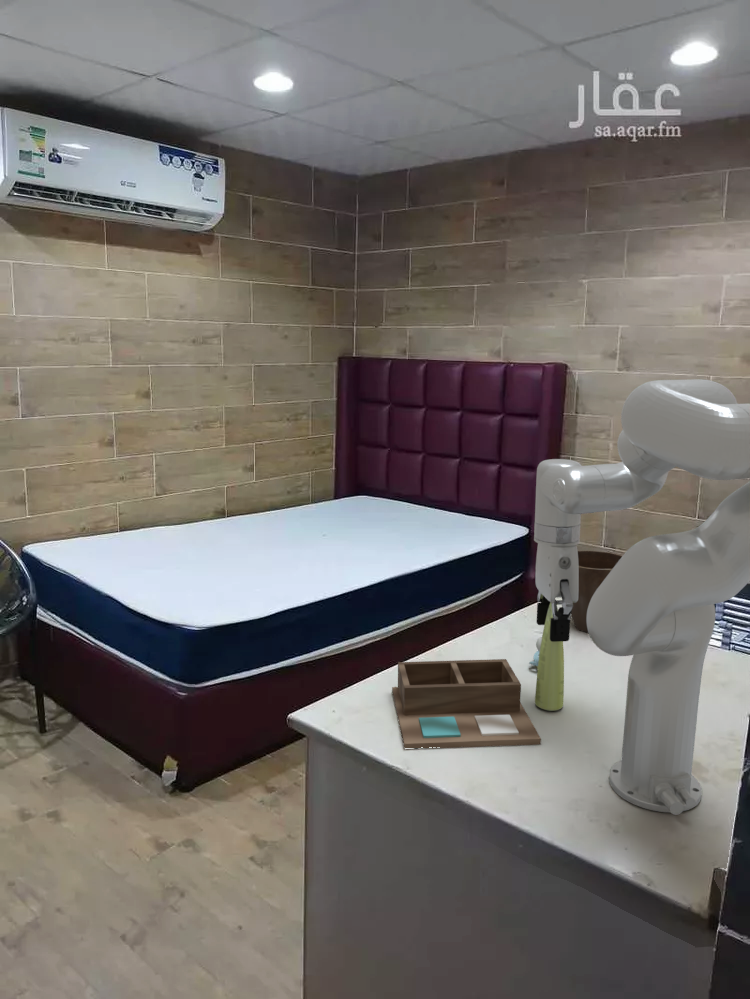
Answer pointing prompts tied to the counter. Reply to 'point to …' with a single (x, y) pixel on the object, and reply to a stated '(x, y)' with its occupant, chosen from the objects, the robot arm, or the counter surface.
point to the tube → (550, 670)
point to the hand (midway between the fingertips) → (552, 631)
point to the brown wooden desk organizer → (461, 705)
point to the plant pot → (590, 581)
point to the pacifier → (537, 653)
